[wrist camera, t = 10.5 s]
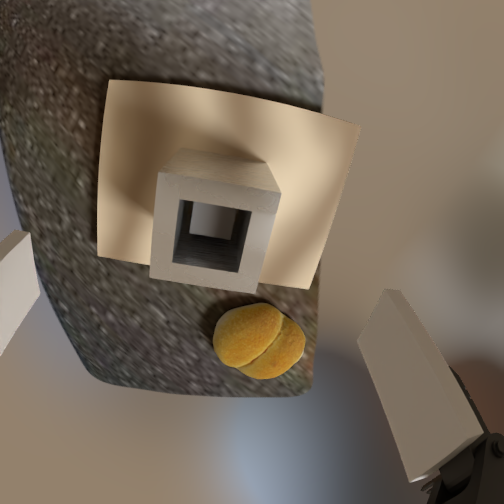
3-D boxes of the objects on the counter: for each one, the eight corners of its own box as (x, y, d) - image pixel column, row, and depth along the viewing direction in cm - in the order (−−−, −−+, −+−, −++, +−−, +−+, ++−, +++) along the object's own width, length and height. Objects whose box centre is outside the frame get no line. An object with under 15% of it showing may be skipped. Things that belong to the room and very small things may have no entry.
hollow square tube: (170, 226, 23) (149, 277, 17) (181, 147, 20) (158, 171, 14) (248, 239, 24) (255, 293, 18) (266, 162, 21) (281, 193, 15)
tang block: (103, 247, 25) (74, 290, 19) (116, 80, 19) (77, 78, 13) (305, 279, 28) (322, 328, 22) (353, 123, 21) (393, 136, 16)
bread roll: (249, 284, 28) (252, 313, 24) (314, 330, 31) (323, 358, 28) (194, 335, 31) (191, 364, 27) (259, 371, 34) (262, 399, 30)
